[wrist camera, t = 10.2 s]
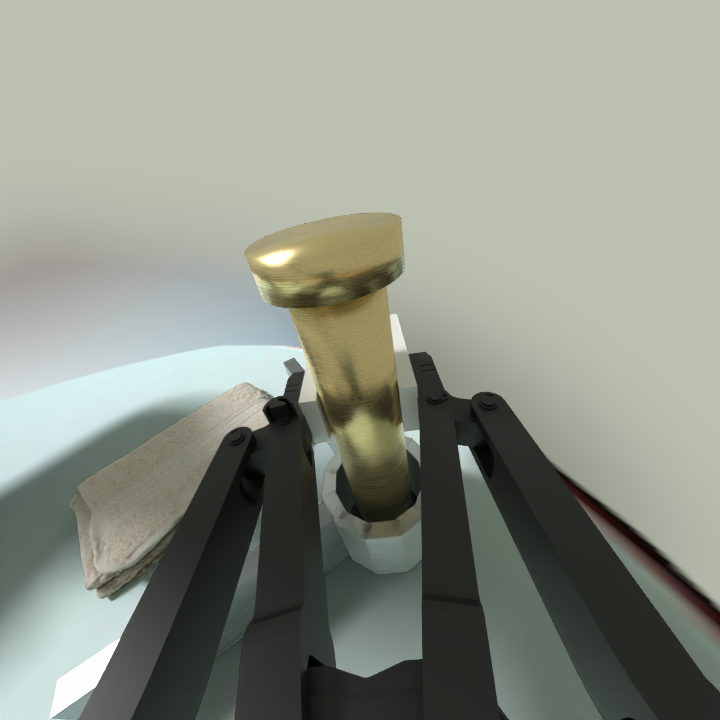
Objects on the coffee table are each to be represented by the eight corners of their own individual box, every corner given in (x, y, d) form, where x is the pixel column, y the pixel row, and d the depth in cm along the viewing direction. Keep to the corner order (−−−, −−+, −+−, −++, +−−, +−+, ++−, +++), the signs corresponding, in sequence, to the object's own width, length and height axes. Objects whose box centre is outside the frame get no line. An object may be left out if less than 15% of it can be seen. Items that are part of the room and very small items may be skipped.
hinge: (144, 476, 27) (107, 442, 24) (329, 381, 33) (318, 346, 31) (124, 815, 12) (25, 836, 9) (459, 528, 19) (462, 487, 16)
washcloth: (82, 506, 26) (55, 488, 24) (252, 390, 35) (242, 370, 34) (109, 617, 19) (73, 603, 17) (314, 433, 28) (305, 411, 26)
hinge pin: (333, 489, 20) (230, 244, 10) (391, 451, 21) (350, 209, 12) (373, 559, 16) (270, 273, 6) (440, 505, 18) (437, 217, 8)
